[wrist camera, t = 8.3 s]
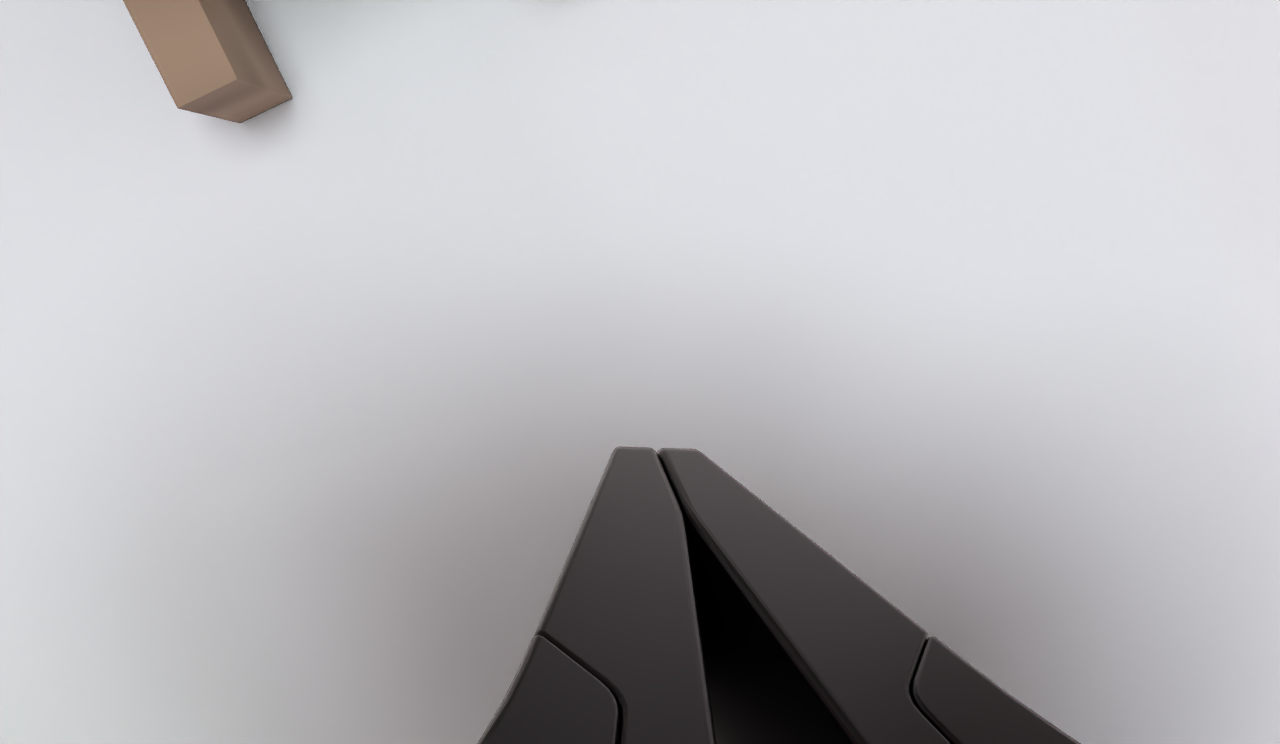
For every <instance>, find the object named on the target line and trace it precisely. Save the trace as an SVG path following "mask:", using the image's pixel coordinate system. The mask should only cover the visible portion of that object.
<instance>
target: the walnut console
mask: <svg viewBox="0 0 1280 744" xmlns="http://www.w3.org/2000/svg"><path fill="white" fill-rule="evenodd" d="M123 1H124V3H125V5H126V7H127V9H128V11H129V13H130V15H131V17H132V19H133V21H134V23H135V25H136V27H137V29H138V31H139V33H140V35H141V37H142V39H143V41H144V43H145V45H146V47H147V49H148V51H149V53H150V55H151V57H152V59H153V61H154V62H155V64H156V66H157V68H158V70H159V72H160V74H161V76H162V78H163V80H164V82H165V84H166V86H167V88H168V90H169V92H170V94H171V96H172V98H173V100H174V102H175V104H176V106H177V108H179V109H183V110H187V111H191V112H196V113H200V114H204V115H208V116H212V117H217V118H221V119H225V120H229V121H234V122H238V123H242V122H244V121H246V120H248V119H250V118H252V117H254V116H256V115H258V114H260V113H262V112H264V111H266V110H268V109H270V108H273V107H275V106H277V105H279V104H281V103H283V102H285V101H287V100H289V99H291V98H292V96H291V94H290V92H289V90H288V88H287V86H286V84H285V82H284V80H283V78H282V75H281V73H280V71H279V69H278V67H277V65H276V63H275V61H274V59H273V57H272V55H271V53H270V51H269V49H268V47H267V45H266V43H265V41H264V39H263V37H262V35H261V33H260V31H259V29H258V27H257V25H256V23H255V20H254V18H253V16H252V14H251V12H250V10H249V8H248V6H247V4H246V2H245V0H123Z"/></svg>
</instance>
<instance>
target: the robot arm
mask: <svg viewBox="0 0 1280 744" xmlns="http://www.w3.org/2000/svg"><path fill="white" fill-rule="evenodd" d="M478 744H1080V743H1079V742H1077V741H1076V740H1074V739H1073V738H1071V737H1070V736H1068V735H1067V734H1065V733H1064V732H1063V731H1061V730H1060V729H1058V728H1057V727H1055V726H1054V725H1052V724H1051V723H1050V722H1048V721H1047V720H1045V719H1044V718H1042V717H1041V716H1040V715H1038V714H1037V713H1035V712H1034V711H1032V710H1031V709H1030V708H1028V707H1027V706H1025V705H1024V704H1022V703H1021V702H1020V701H1018V700H1017V699H1015V698H1014V697H1012V696H1011V695H1010V694H1008V693H1007V692H1006V691H1004V690H1003V689H1002V688H1000V687H999V686H998V685H996V684H995V683H994V682H992V681H991V680H990V679H988V678H987V677H986V676H985V675H983V674H982V673H981V672H979V671H978V670H977V669H975V668H974V667H973V666H971V665H970V664H969V663H967V662H966V661H965V660H963V659H962V658H961V657H960V656H958V655H957V654H956V653H955V652H953V651H952V650H951V649H950V648H948V647H947V646H946V645H945V644H943V643H942V642H941V641H940V640H938V639H937V638H936V637H933V636H932V637H929V638H928V634H927V632H926V631H925V630H924V629H922V628H921V627H920V626H919V625H917V624H916V623H915V622H914V621H912V620H911V619H910V618H909V617H907V616H906V615H905V614H903V613H902V612H901V611H900V610H898V609H897V608H896V607H895V606H893V605H892V604H891V603H890V602H888V601H887V600H886V599H885V598H883V597H882V596H881V595H880V594H878V593H877V592H876V591H875V590H873V589H872V588H871V587H870V586H868V585H867V584H866V583H865V582H863V581H862V580H861V579H860V578H858V577H857V576H856V575H855V574H853V573H852V572H851V571H850V570H848V569H847V568H846V567H844V566H843V565H842V564H841V563H839V562H838V561H837V560H836V559H834V558H833V557H832V556H831V555H829V554H828V553H827V552H826V551H824V550H823V549H822V548H821V547H819V546H818V545H817V544H816V543H814V542H813V541H812V540H811V539H809V538H808V537H807V536H806V535H804V534H803V533H802V532H801V531H799V530H798V529H797V528H796V527H794V526H793V525H792V524H791V523H789V522H788V521H787V520H785V519H784V518H783V517H782V516H780V515H779V514H778V513H777V512H775V511H774V510H773V509H772V508H770V507H769V506H768V505H767V504H765V503H764V502H763V501H762V500H760V499H759V498H758V497H757V496H755V495H754V494H753V493H752V492H750V491H749V490H748V489H747V488H745V487H744V486H743V485H742V484H740V483H739V482H738V481H737V480H735V479H734V478H733V477H731V476H730V475H729V474H728V473H726V472H725V471H724V470H723V469H721V468H720V467H719V466H718V465H716V464H715V463H714V462H713V461H711V460H710V459H709V458H708V457H706V456H705V455H704V454H703V453H701V452H700V451H698V450H696V449H679V448H662V449H660V450H659V451H658V452H657V453H656V451H655V450H653V449H652V448H647V447H617V448H615V449H614V450H613V452H612V454H611V456H610V459H609V461H608V464H607V466H606V468H605V471H604V473H603V475H602V478H601V480H600V482H599V485H598V487H597V489H596V492H595V494H594V496H593V499H592V501H591V504H590V506H589V508H588V511H587V513H586V515H585V518H584V520H583V522H582V525H581V527H580V529H579V532H578V534H577V536H576V539H575V541H574V543H573V546H572V548H571V551H570V553H569V555H568V558H567V560H566V562H565V565H564V567H563V569H562V572H561V574H560V576H559V579H558V581H557V583H556V586H555V588H554V590H553V593H552V595H551V598H550V600H549V602H548V605H547V607H546V609H545V612H544V614H543V616H542V619H541V621H540V623H539V626H538V628H537V630H536V633H535V635H534V637H533V638H532V640H531V642H530V645H529V647H528V649H527V652H526V654H525V656H524V659H523V661H522V663H521V665H520V667H519V669H518V671H517V674H516V676H515V678H514V680H513V682H512V684H511V686H510V688H509V690H508V692H507V694H506V696H505V698H504V700H503V702H502V704H501V705H500V707H499V709H498V710H497V712H496V714H495V715H494V717H493V719H492V720H491V722H490V724H489V725H488V727H487V729H486V730H485V732H484V734H483V735H482V737H481V739H480V740H479V742H478Z"/></svg>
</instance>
